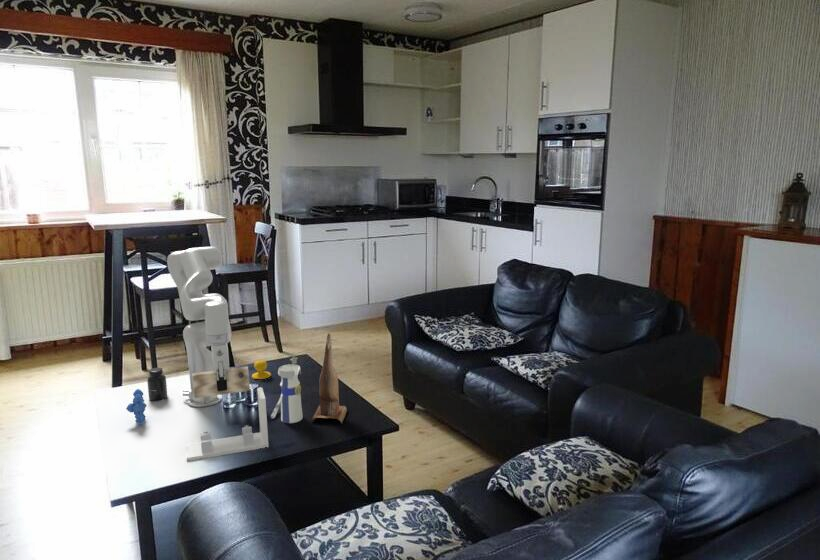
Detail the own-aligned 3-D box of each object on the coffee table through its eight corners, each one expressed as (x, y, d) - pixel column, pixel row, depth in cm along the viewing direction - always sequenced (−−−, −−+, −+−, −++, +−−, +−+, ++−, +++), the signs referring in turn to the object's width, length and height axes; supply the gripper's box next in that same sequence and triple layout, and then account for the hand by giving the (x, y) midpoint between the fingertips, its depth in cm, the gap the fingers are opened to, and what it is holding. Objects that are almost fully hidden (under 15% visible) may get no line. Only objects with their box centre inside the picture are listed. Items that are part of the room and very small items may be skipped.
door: (194, 399, 197) (192, 376, 195) (194, 395, 200) (192, 373, 198) (250, 391, 203) (248, 369, 201) (249, 388, 206) (247, 366, 204)
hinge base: (187, 461, 183) (182, 410, 180) (187, 446, 192) (182, 398, 189) (268, 447, 191) (265, 398, 188) (265, 434, 201) (262, 387, 197)
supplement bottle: (149, 402, 228) (146, 373, 226) (148, 396, 234) (145, 368, 232) (168, 399, 231) (165, 370, 229) (166, 393, 237) (164, 365, 235)
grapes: (128, 417, 215) (124, 386, 213) (148, 414, 218) (145, 383, 215) (127, 430, 205) (123, 398, 202) (148, 427, 207) (144, 395, 205)
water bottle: (308, 415, 215) (305, 350, 210) (295, 425, 207) (291, 357, 202) (290, 411, 218) (286, 347, 213) (276, 421, 211) (271, 354, 206)
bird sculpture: (311, 425, 208) (307, 339, 201) (317, 410, 219) (313, 328, 212) (342, 425, 208) (339, 339, 200) (347, 410, 219) (344, 328, 212)
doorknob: (266, 380, 250) (248, 379, 251) (273, 374, 258) (256, 373, 259) (265, 364, 248) (247, 363, 250) (272, 358, 256) (255, 357, 258)
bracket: (296, 389, 234) (291, 372, 228) (281, 433, 218) (276, 416, 212) (288, 389, 235) (283, 372, 229) (273, 433, 218) (267, 415, 212)
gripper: (231, 343, 191) (235, 396, 195) (228, 329, 206) (232, 379, 210) (207, 346, 189) (211, 399, 193) (206, 332, 203) (210, 381, 207)
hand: (222, 388), depth 201 cm, fingers closed on door, 2 cm apart
